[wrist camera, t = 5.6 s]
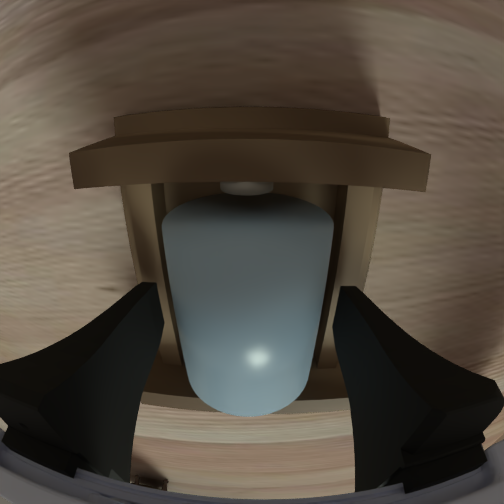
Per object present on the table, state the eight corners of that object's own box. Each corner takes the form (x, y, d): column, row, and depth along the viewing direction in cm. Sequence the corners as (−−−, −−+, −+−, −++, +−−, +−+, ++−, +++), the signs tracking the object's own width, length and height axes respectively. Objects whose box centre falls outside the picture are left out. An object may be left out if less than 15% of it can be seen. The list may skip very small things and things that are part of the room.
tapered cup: (303, 327, 15) (314, 416, 11) (198, 324, 15) (176, 410, 11) (318, 193, 12) (352, 261, 7) (184, 191, 12) (135, 256, 7)
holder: (338, 358, 18) (351, 417, 14) (163, 354, 18) (145, 411, 14) (380, 116, 11) (433, 128, 7) (123, 115, 11) (66, 128, 7)
